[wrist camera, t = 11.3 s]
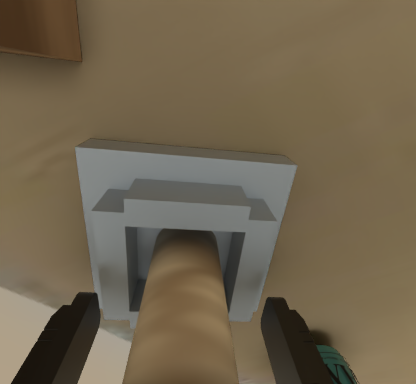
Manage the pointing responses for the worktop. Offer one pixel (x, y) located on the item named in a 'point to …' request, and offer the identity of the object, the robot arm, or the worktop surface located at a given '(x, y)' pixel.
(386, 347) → the worktop surface
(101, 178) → the slate dock
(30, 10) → the walnut dock
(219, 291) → the birch peg
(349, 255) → the worktop surface
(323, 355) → the beverage bottle
